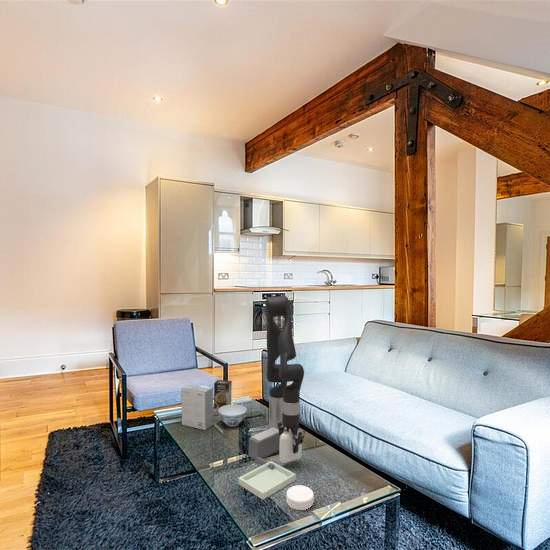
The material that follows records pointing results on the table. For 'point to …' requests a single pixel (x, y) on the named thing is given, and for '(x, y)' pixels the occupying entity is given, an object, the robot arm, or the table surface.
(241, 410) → the chinaware
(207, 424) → the hard drive box
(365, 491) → the table surface
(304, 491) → the white round puck
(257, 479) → the tray
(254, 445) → the dock
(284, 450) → the photo printer
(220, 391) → the coffee box
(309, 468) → the table surface
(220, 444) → the table surface
